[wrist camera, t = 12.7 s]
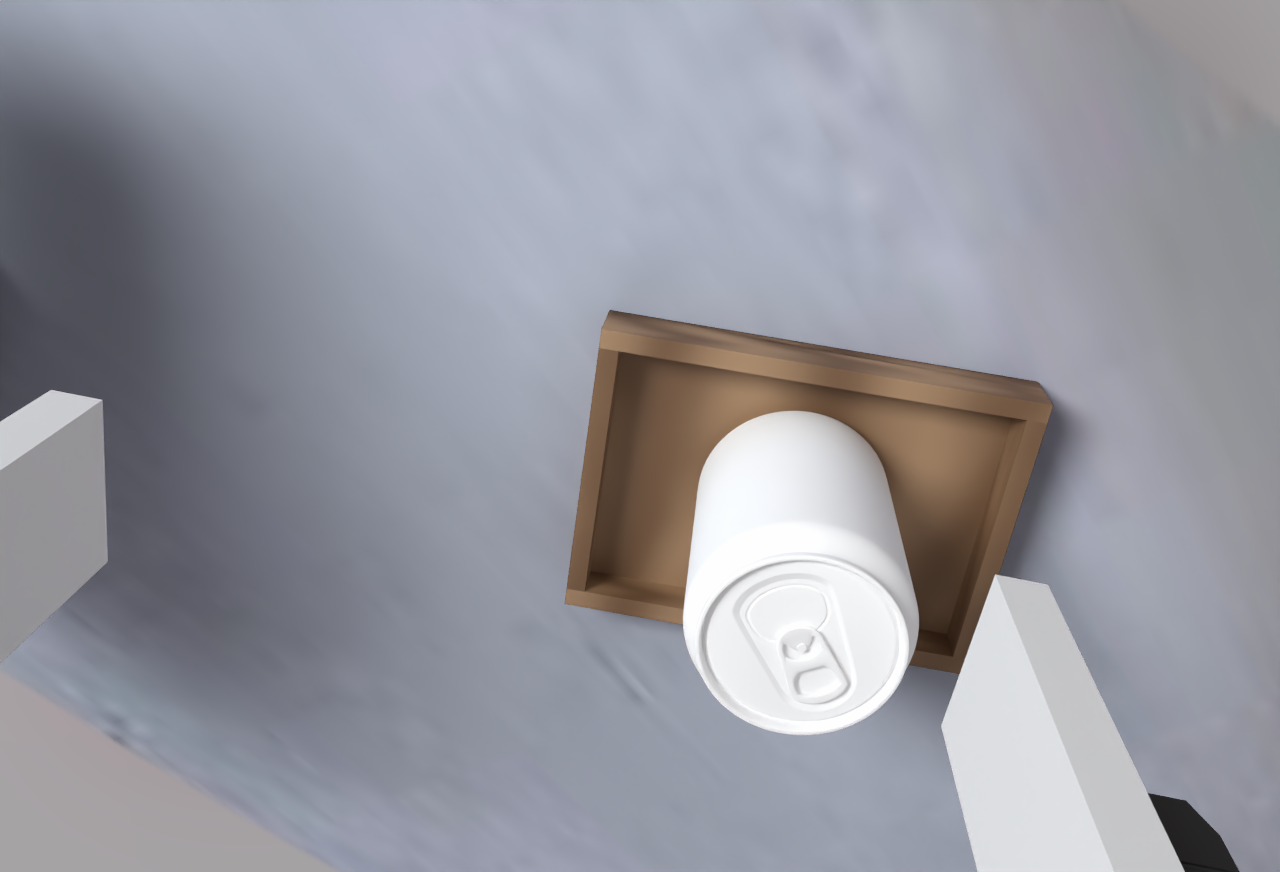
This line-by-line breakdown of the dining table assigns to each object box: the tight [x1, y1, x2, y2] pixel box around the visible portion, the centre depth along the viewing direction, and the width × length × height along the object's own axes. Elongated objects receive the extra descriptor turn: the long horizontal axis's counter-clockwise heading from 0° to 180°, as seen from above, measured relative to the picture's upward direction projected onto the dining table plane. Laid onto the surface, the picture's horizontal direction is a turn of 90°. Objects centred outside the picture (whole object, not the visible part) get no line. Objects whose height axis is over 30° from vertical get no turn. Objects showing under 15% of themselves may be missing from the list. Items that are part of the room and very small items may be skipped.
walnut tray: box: [565, 310, 1053, 674], centre depth 47 cm, size 18×13×3 cm
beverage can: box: [683, 411, 919, 735], centre depth 42 cm, size 8×8×12 cm
